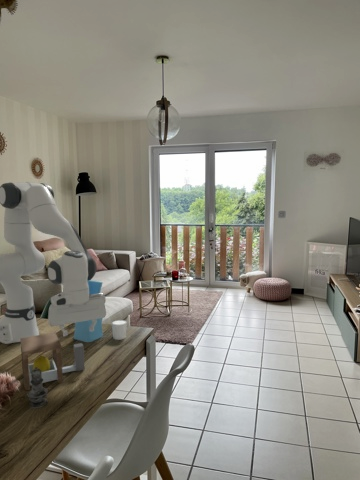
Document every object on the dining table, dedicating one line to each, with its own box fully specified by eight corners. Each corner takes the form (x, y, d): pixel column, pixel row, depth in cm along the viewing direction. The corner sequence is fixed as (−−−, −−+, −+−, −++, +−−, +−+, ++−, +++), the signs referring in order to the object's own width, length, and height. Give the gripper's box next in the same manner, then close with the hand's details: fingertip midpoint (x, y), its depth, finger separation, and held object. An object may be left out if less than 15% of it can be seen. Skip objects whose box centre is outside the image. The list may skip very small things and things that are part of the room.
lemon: (34, 382, 125) (33, 360, 124) (33, 376, 130) (31, 354, 129) (51, 379, 128) (50, 357, 127) (49, 372, 132) (48, 351, 131)
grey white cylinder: (124, 340, 161) (123, 325, 160) (109, 339, 162) (109, 324, 161) (129, 334, 168) (129, 320, 167) (115, 333, 169) (114, 319, 168)
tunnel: (25, 390, 120) (22, 352, 119) (22, 373, 132) (20, 338, 130) (62, 381, 125) (60, 345, 124) (57, 366, 137) (55, 332, 136)
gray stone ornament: (31, 398, 115) (29, 362, 114) (50, 397, 116) (48, 361, 114) (25, 409, 109) (22, 371, 108) (45, 408, 110) (43, 370, 108)
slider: (29, 385, 123) (27, 360, 121) (27, 374, 131) (25, 350, 130) (86, 373, 131) (85, 349, 130) (81, 362, 139) (80, 340, 138)
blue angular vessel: (89, 342, 159) (86, 286, 156) (73, 338, 164) (70, 284, 161) (104, 335, 167) (102, 282, 164) (89, 331, 172) (87, 279, 169)
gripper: (102, 290, 139) (104, 325, 140) (46, 298, 130) (48, 335, 131) (107, 294, 133) (109, 330, 134) (48, 302, 124) (50, 341, 125)
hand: (78, 333), depth 133 cm, fingers open, 8 cm apart
